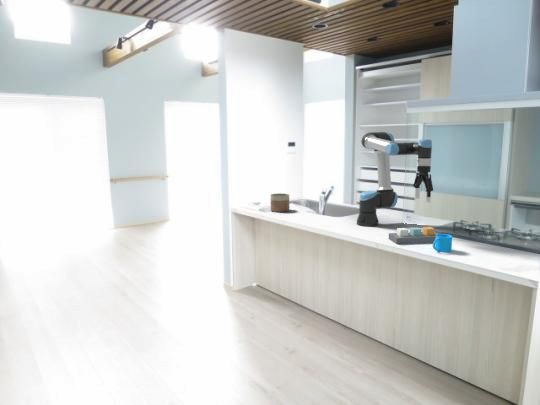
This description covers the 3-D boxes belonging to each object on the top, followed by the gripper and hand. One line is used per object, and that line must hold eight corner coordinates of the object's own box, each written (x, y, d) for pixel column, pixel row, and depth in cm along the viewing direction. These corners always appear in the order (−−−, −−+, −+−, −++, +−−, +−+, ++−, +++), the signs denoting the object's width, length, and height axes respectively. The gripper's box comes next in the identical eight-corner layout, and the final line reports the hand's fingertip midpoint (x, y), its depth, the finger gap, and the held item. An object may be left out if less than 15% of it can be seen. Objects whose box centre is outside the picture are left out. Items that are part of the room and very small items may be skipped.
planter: (279, 213, 326) (279, 196, 324) (266, 210, 338) (266, 194, 335) (293, 210, 337) (293, 194, 334) (280, 208, 348) (280, 192, 346)
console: (388, 238, 241) (388, 233, 240) (432, 237, 243) (433, 231, 243) (396, 244, 229) (396, 238, 228) (442, 242, 232) (443, 236, 231)
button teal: (409, 234, 238) (410, 227, 237) (417, 233, 238) (417, 227, 238) (413, 236, 233) (413, 229, 232) (421, 235, 233) (421, 229, 233)
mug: (442, 247, 221) (442, 233, 220) (454, 251, 214) (455, 236, 213) (426, 250, 216) (427, 235, 214) (439, 254, 209) (440, 239, 207)
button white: (396, 234, 237) (397, 228, 236) (404, 234, 237) (404, 228, 237) (400, 236, 232) (400, 230, 232) (408, 236, 233) (408, 229, 232)
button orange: (422, 233, 238) (422, 227, 238) (430, 233, 239) (430, 226, 238) (426, 235, 234) (426, 229, 233) (434, 235, 234) (434, 228, 234)
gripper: (408, 164, 249) (407, 197, 253) (428, 167, 225) (426, 204, 228) (420, 163, 250) (418, 197, 254) (440, 166, 225) (438, 203, 229)
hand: (422, 200), depth 241 cm, fingers open, 13 cm apart
